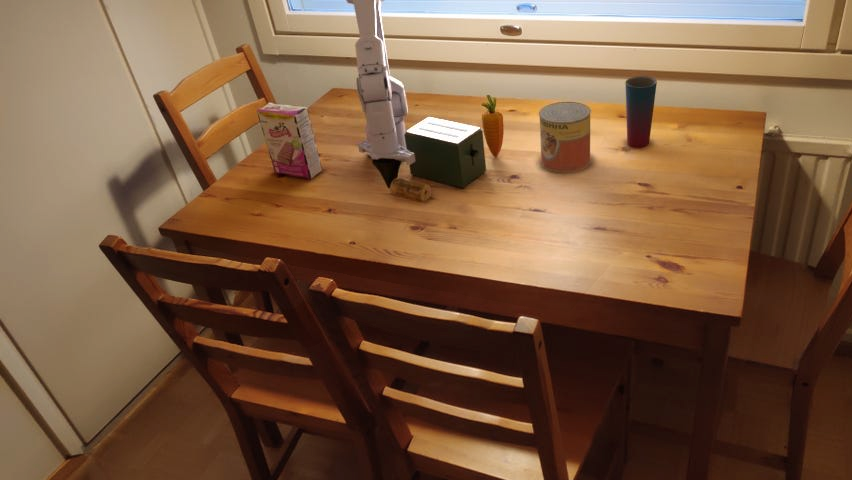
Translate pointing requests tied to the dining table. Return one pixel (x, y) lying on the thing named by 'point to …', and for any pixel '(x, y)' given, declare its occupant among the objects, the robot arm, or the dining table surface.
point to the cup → (639, 109)
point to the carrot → (493, 126)
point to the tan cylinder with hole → (410, 189)
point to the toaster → (446, 152)
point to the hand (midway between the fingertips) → (392, 186)
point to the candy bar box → (290, 140)
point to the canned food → (565, 136)
